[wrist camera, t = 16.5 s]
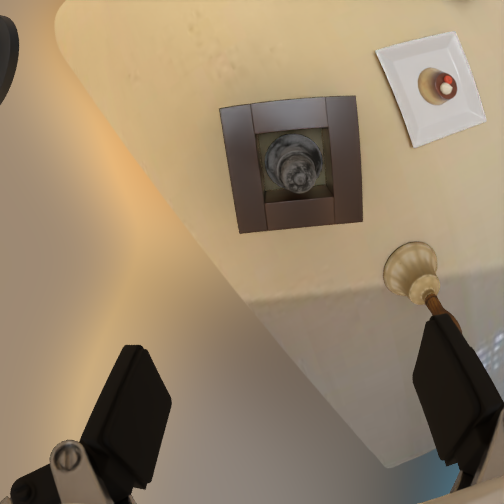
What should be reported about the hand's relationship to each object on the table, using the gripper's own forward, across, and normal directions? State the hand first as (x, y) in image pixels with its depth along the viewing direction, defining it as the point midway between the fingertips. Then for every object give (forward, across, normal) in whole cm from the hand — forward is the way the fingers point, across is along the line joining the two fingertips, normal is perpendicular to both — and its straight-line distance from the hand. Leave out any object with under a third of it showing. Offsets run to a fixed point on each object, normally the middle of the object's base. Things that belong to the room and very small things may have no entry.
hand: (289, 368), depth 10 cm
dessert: (+28, -20, -9) cm, 36 cm away
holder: (+28, -2, -2) cm, 28 cm away
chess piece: (+28, -2, -2) cm, 29 cm away
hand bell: (+28, -17, +15) cm, 36 cm away
